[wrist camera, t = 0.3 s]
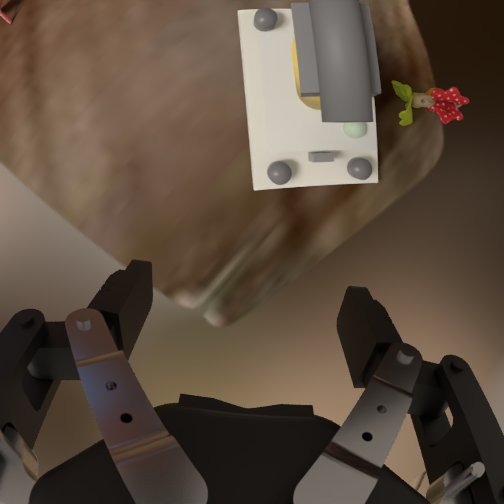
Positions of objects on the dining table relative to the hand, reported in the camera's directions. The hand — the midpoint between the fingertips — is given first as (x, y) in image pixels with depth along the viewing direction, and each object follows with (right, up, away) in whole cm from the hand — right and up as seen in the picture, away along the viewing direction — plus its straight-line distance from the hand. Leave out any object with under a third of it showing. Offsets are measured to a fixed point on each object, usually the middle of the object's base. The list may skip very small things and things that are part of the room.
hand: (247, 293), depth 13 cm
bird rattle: (+22, +22, +23) cm, 39 cm away
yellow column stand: (+8, +20, +19) cm, 28 cm away
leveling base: (+7, +21, +23) cm, 32 cm away
